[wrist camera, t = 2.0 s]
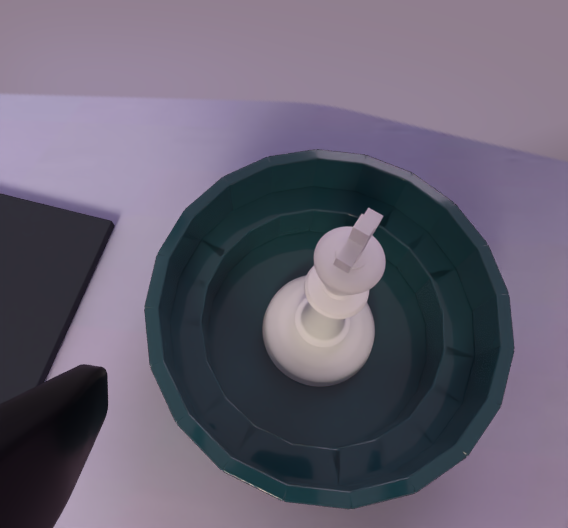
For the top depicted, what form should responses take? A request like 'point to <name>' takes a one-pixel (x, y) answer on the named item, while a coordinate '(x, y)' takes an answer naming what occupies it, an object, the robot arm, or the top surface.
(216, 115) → the top surface
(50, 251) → the mat
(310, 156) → the bowl
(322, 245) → the chess piece
